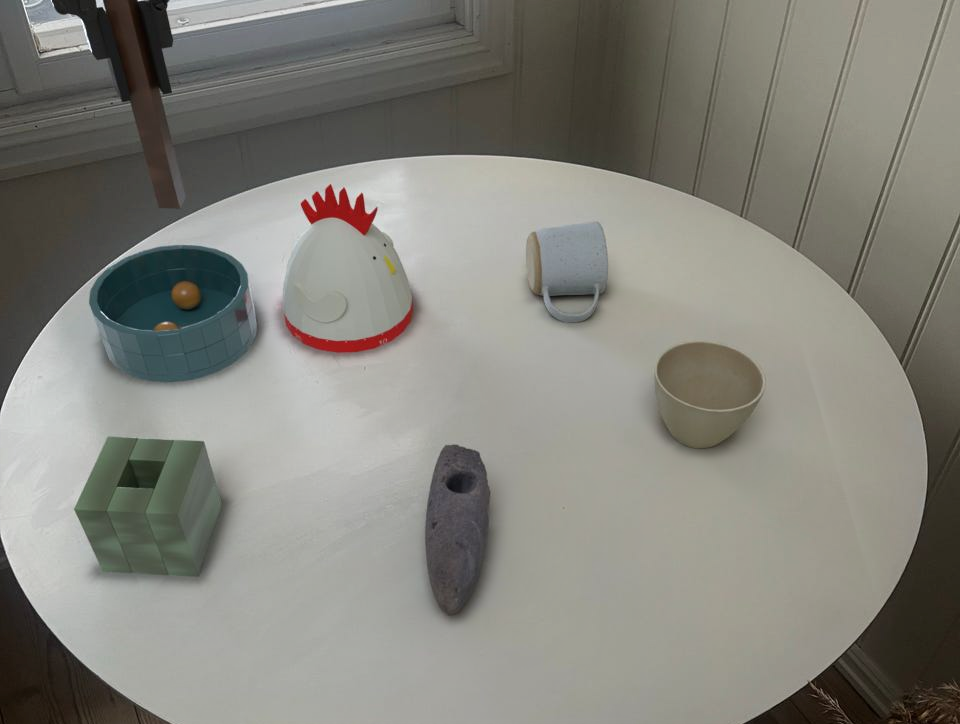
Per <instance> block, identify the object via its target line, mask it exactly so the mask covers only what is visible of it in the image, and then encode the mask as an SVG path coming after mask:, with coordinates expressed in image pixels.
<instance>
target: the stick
mask: <svg viewBox="0 0 960 724" xmlns="http://www.w3.org/2000/svg"><path fill="white" fill-rule="evenodd" d="M138 1H139V0H102V3H103V6H104V7H103V8H104V10H105V12H106V14H107V15H108V17H109V19H110V23H111V26H112V30H113V34H114V38H115V41H116V45H117V49H118V52H119V56H120V60H121V64H122V67H123V71H124V75H125V79H126V82H127V86H128V90H129V93H130V97H131V101H129V103H130V107H131V111H132V114H133V117H134V121H135V125H136V130H137V132H138V136H139V140H140V142H141V148H142V150H143V155H144V158H145V161H146V166H147V170H148V174H149V177H150V180H151V184H152V188H153V193H154V196H155V199H156V202H157V206H158V209H176V210H180V209H181V208H182V206H183V204H184V202H185V200H186V199H187V197H186V193H185V188H184V184H183V180H182V176H181V171H180V167H179V164H178V159H177V156H176V152H175V148H174V144H173V140H172V135H171V131H170V127H169V123H168V119H167V115H166V110H165V106H164V104H163V99H162V94H161V90H160V88H159V86H158V82H157V78H156V74H155V70H154V66H153V62H152V58H151V53H150V49H149V45H148V41H147V37H146V33H145V29H144V25H143V21H142V17H141V13H140V8H139V4H138Z"/></svg>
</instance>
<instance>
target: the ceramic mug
mask: <svg viewBox="0 0 960 724" xmlns="http://www.w3.org/2000/svg"><path fill="white" fill-rule="evenodd" d="M525 244H526V245H525V263H526V264H525V265H526V272H527V279H528V284H529V288H530V290H531V291H532V293H534V294H535V295H537V296H543V302H544V305H545V307H546V309H547V311H548V313H549V314H550V315H551V316H552V317H553V318H555V319H556V320H558V321H560V322H563V323H580V322H583V321H586V320H587V319H588V318H590V317H591V316H592V314H593V313H594V312H595V310H596V308H597V305H598V302H599V297H600V294H603V293H604V292H605V290H606V289H607V288H606V287H607V283H608V277H609V276H608V275H609V260H608V259H609V258H608V247H607V239H606V235H605V232H604V228H603V226H602V225H601V223H600V222H599V221H589V222H584V223H583V222H582V223H575V224H568V225H561V226H552V227H546V228H541V229H538V230H535V231H532V232H530V233H529V234H528V235H527V238H526V243H525ZM579 295H580V296H583V295H593V301H592V303H591V304H590V306H588V307H587V308H586V310H584V311H583V312H581V313H575V314H574V313H567V312H565V311H562V310H560V309H558V308H556V307H555V306H554V304H553V302H552V301H551V298H550V297H553V296H579Z"/></svg>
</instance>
